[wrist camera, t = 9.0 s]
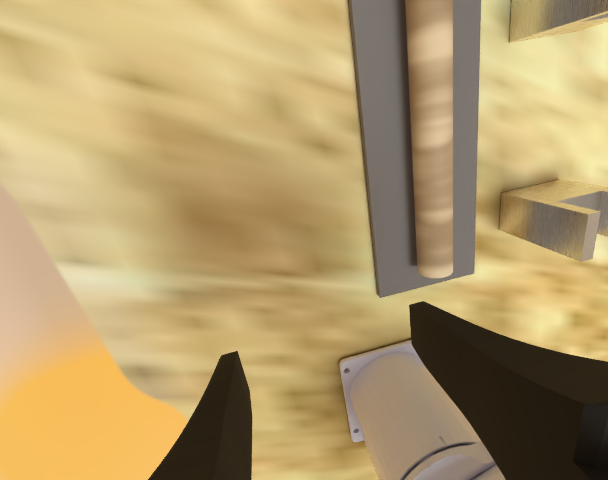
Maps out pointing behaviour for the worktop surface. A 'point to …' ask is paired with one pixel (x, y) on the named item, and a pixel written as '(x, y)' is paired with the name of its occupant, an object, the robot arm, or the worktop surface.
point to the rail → (432, 131)
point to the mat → (397, 137)
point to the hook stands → (556, 194)
